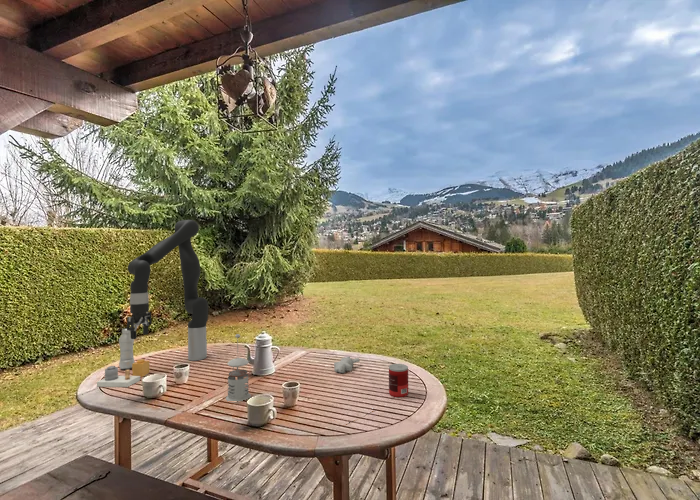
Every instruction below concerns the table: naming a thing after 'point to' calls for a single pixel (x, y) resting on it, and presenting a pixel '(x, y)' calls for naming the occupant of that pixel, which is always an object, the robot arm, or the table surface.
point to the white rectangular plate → (118, 382)
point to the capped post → (111, 373)
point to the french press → (238, 380)
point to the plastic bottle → (126, 350)
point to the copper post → (127, 374)
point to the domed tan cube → (140, 368)
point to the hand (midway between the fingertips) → (139, 336)
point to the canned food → (398, 380)
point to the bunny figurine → (345, 364)
